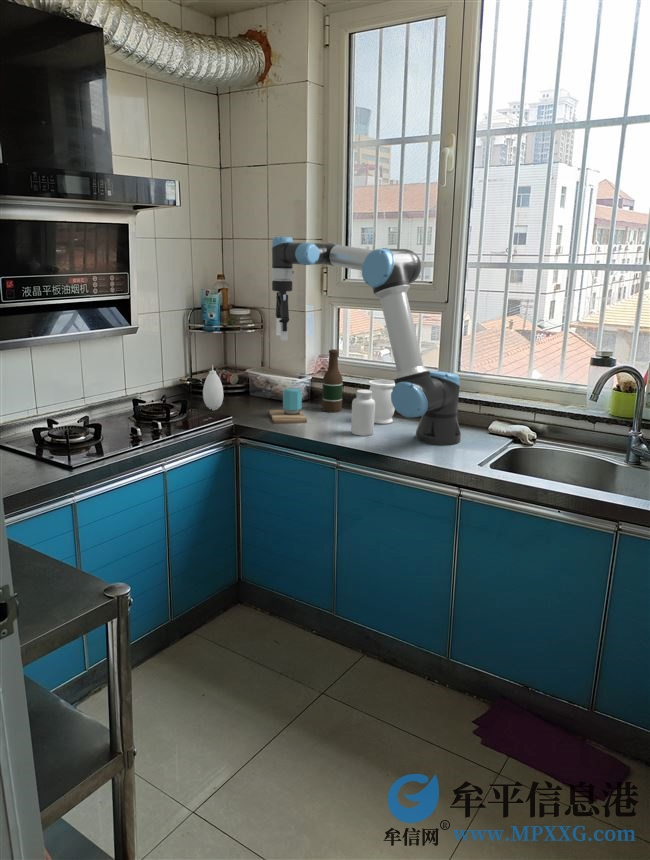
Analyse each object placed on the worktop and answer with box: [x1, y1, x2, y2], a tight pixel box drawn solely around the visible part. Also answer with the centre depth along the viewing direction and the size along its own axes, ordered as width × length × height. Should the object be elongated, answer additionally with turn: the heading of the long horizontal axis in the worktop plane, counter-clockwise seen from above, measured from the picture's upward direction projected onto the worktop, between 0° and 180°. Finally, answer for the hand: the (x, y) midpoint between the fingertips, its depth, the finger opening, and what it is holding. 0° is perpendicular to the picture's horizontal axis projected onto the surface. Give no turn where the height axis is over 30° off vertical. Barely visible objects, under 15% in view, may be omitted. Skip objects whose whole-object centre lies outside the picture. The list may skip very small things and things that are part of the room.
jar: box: [368, 379, 396, 425], centre depth 246 cm, size 11×10×15 cm
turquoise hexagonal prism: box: [282, 387, 303, 410], centre depth 251 cm, size 7×7×7 cm
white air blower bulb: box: [202, 364, 224, 411], centre depth 257 cm, size 8×8×18 cm
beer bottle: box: [321, 349, 344, 413], centre depth 260 cm, size 8×8×24 cm
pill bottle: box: [350, 389, 375, 437], centre depth 230 cm, size 8×8×15 cm
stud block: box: [268, 408, 308, 424], centre depth 249 cm, size 16×12×9 cm
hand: (281, 337), depth 252 cm, fingers open, 13 cm apart
